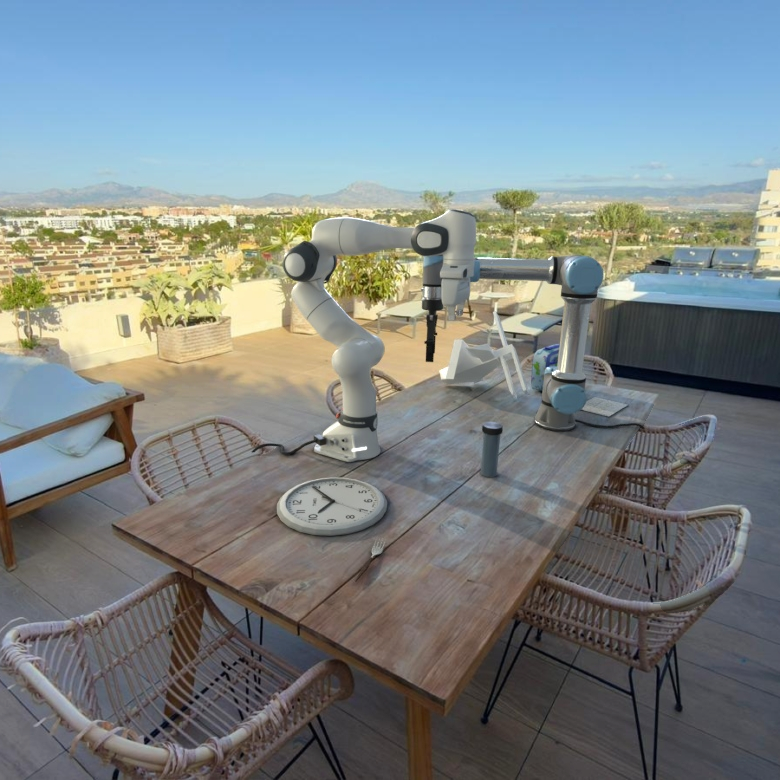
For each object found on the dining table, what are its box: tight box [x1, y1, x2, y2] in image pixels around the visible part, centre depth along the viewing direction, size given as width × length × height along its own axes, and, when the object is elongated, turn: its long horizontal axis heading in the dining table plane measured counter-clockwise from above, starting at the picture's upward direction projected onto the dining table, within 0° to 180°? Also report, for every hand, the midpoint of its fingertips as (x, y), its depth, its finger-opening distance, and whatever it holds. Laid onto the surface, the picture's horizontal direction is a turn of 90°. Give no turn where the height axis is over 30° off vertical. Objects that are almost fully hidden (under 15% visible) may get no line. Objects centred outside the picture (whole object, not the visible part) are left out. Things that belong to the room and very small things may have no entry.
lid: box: [481, 421, 504, 436], centre depth 158 cm, size 6×6×2 cm
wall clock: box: [276, 476, 388, 537], centre depth 142 cm, size 30×2×30 cm
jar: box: [480, 432, 501, 478], centre depth 161 cm, size 5×5×16 cm
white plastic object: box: [438, 310, 531, 400], centre depth 245 cm, size 37×45×31 cm
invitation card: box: [580, 396, 629, 418], centre depth 226 cm, size 21×1×15 cm
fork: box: [354, 536, 387, 583], centre depth 118 cm, size 3×16×2 cm, turn 160°
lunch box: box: [530, 343, 560, 392], centre depth 248 cm, size 26×11×21 cm, turn 134°
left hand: (455, 318), depth 153 cm, fingers open, 8 cm apart
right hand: (430, 357), depth 190 cm, fingers open, 13 cm apart
